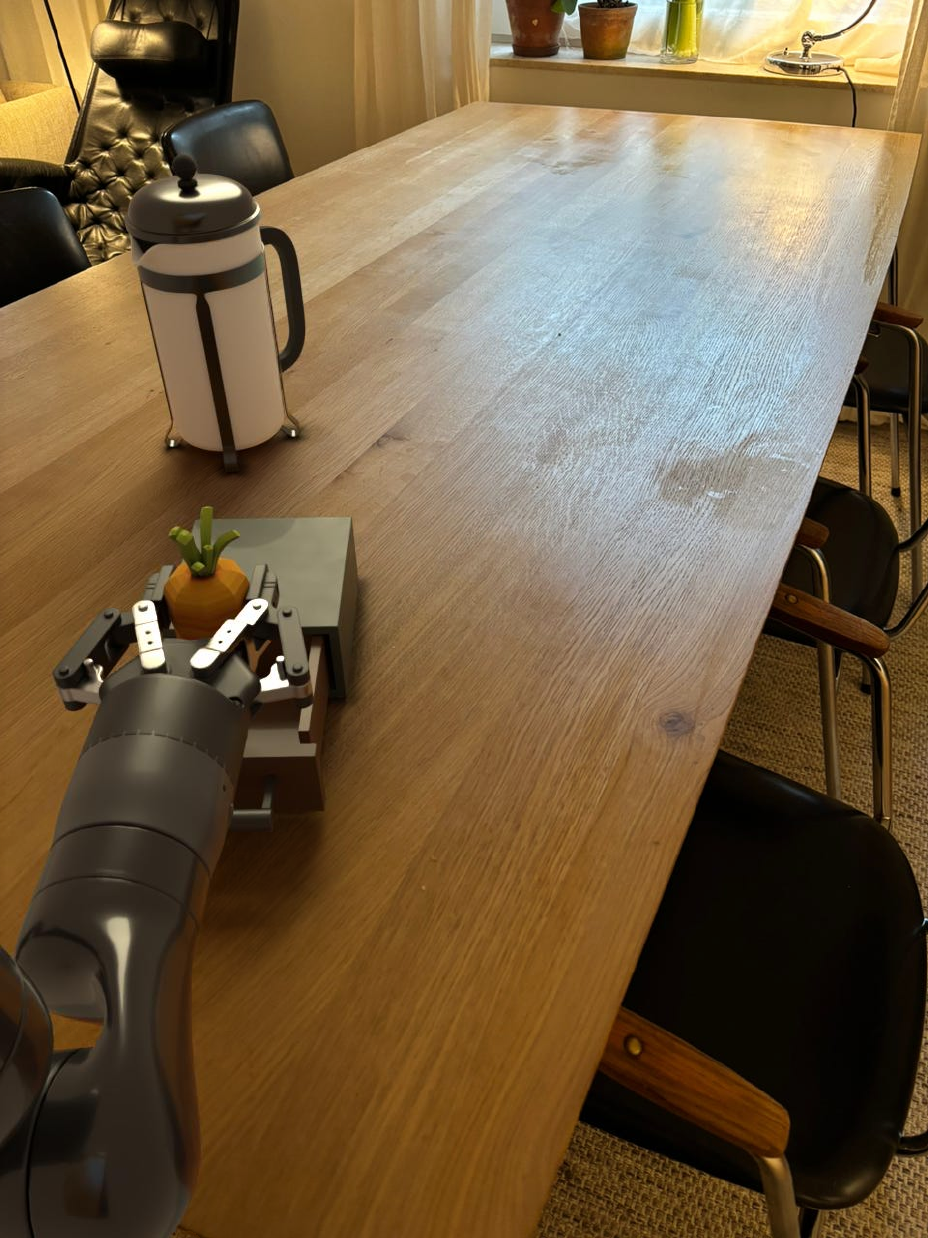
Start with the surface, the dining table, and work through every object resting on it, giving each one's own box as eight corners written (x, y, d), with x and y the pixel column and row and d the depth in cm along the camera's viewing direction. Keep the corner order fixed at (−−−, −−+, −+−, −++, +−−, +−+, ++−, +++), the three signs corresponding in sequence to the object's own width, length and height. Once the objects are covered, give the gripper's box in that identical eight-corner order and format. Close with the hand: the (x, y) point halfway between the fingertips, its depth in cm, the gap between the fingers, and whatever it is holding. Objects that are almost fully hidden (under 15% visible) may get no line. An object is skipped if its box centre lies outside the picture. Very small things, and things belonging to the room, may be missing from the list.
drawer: (318, 862, 67) (308, 808, 63) (134, 866, 67) (113, 811, 63) (339, 678, 80) (332, 624, 77) (186, 681, 80) (172, 627, 77)
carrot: (235, 674, 67) (194, 484, 57) (289, 705, 64) (256, 512, 55) (179, 718, 64) (125, 525, 54) (233, 751, 61) (188, 556, 52)
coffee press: (307, 471, 106) (268, 175, 86) (156, 478, 105) (82, 182, 86) (314, 394, 119) (282, 122, 100) (180, 399, 118) (121, 127, 99)
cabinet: (346, 697, 80) (338, 626, 75) (178, 700, 80) (158, 629, 75) (358, 584, 91) (351, 516, 86) (210, 587, 91) (195, 518, 86)
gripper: (294, 737, 45) (329, 522, 58) (-23, 741, 45) (84, 526, 58) (312, 840, 50) (341, 621, 63) (26, 844, 50) (114, 624, 63)
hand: (217, 576), depth 60 cm, fingers closed on carrot, 5 cm apart
